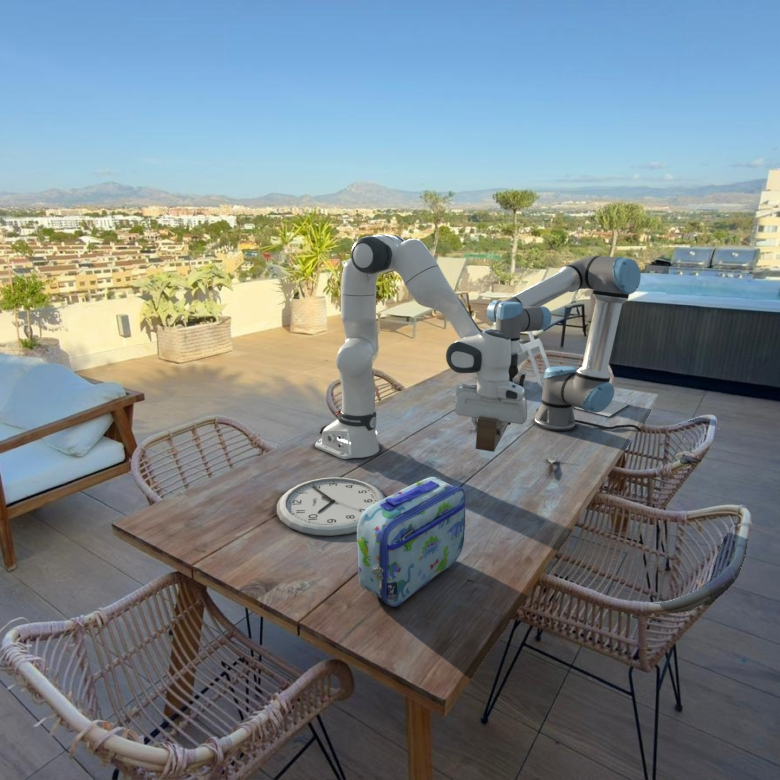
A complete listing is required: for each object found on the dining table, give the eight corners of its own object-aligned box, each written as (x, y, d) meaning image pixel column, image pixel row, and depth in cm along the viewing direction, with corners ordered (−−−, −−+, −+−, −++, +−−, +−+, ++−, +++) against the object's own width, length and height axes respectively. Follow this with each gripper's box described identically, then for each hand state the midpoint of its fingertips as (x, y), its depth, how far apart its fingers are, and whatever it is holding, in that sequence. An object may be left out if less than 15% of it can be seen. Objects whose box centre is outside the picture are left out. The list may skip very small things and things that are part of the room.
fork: (545, 476, 161) (545, 470, 161) (548, 456, 176) (549, 450, 175) (553, 477, 160) (554, 471, 160) (556, 457, 175) (557, 452, 174)
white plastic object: (490, 419, 266) (470, 396, 241) (471, 346, 288) (451, 319, 263) (561, 395, 253) (548, 368, 229) (535, 321, 276) (521, 290, 251)
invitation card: (608, 416, 214) (573, 407, 224) (608, 416, 214) (573, 408, 224) (628, 404, 229) (594, 396, 238) (628, 405, 229) (594, 397, 238)
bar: (494, 418, 175) (496, 392, 172) (510, 420, 173) (512, 394, 170) (475, 448, 150) (477, 419, 147) (493, 452, 148) (496, 422, 145)
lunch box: (386, 620, 101) (388, 525, 95) (350, 593, 108) (349, 503, 102) (468, 563, 119) (474, 480, 112) (432, 543, 126) (436, 464, 120)
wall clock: (392, 527, 129) (268, 531, 127) (391, 533, 130) (269, 537, 127) (383, 473, 158) (282, 475, 155) (383, 478, 158) (282, 480, 156)
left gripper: (453, 385, 148) (451, 431, 153) (527, 395, 141) (522, 442, 145) (459, 380, 154) (456, 424, 158) (530, 389, 147) (525, 434, 151)
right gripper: (474, 351, 163) (469, 421, 170) (534, 357, 156) (527, 430, 163) (479, 346, 169) (474, 414, 176) (537, 352, 163) (530, 422, 170)
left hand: (488, 433), depth 152 cm, fingers closed on bar, 5 cm apart
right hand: (500, 421), depth 170 cm, fingers closed on bar, 5 cm apart
